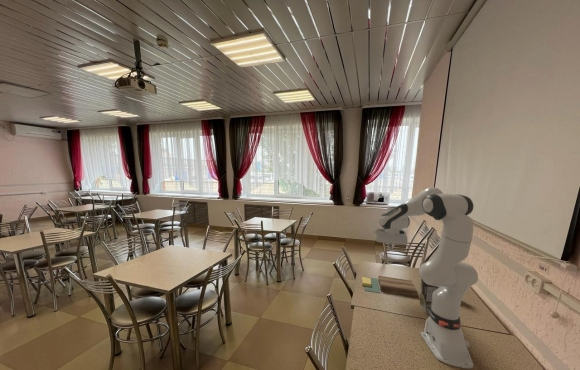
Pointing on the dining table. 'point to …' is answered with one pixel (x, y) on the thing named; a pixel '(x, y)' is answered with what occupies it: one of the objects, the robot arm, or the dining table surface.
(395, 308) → the dining table surface
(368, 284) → the yellow block
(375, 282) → the mat
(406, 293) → the board
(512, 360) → the dining table surface
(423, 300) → the coffee box
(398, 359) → the dining table surface
